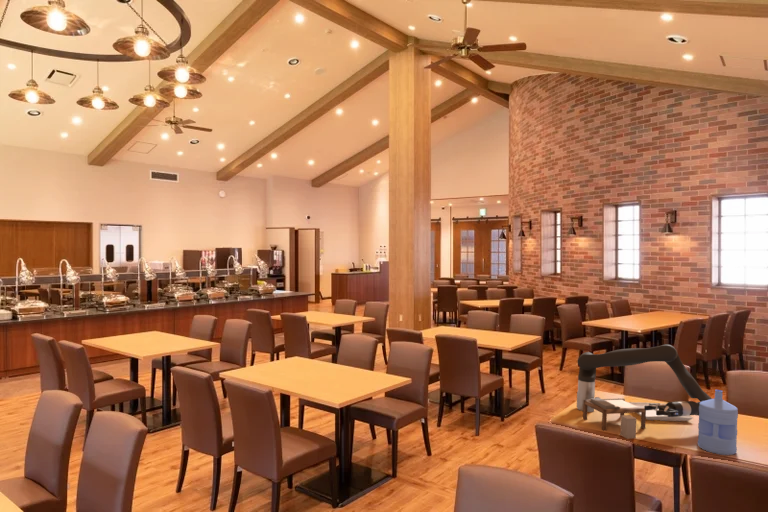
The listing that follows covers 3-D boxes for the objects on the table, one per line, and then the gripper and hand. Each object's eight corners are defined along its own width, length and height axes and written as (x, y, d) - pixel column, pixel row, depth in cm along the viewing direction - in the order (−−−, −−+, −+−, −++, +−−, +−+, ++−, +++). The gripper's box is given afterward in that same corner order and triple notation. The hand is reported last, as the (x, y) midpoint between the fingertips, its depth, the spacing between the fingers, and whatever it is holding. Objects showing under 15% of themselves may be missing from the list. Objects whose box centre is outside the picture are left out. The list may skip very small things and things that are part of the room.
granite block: (620, 435, 264) (620, 415, 264) (629, 434, 265) (629, 415, 265) (626, 438, 259) (627, 418, 259) (635, 438, 260) (636, 418, 260)
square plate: (694, 424, 285) (694, 417, 285) (643, 422, 286) (643, 415, 286) (668, 409, 312) (668, 402, 312) (622, 407, 313) (622, 401, 313)
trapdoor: (605, 413, 273) (606, 405, 273) (590, 405, 287) (590, 398, 287) (638, 412, 277) (638, 404, 277) (621, 404, 291) (621, 396, 291)
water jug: (700, 440, 259) (702, 384, 259) (738, 448, 249) (740, 390, 249) (694, 449, 247) (696, 390, 247) (734, 458, 237) (736, 397, 237)
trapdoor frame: (603, 430, 271) (604, 408, 270) (583, 418, 289) (583, 397, 289) (645, 428, 275) (646, 406, 275) (622, 416, 294) (623, 396, 293)
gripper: (668, 397, 275) (641, 399, 271) (689, 405, 261) (660, 407, 257) (668, 412, 275) (640, 413, 272) (689, 420, 261) (660, 422, 258)
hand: (650, 410), depth 265 cm, fingers open, 8 cm apart
